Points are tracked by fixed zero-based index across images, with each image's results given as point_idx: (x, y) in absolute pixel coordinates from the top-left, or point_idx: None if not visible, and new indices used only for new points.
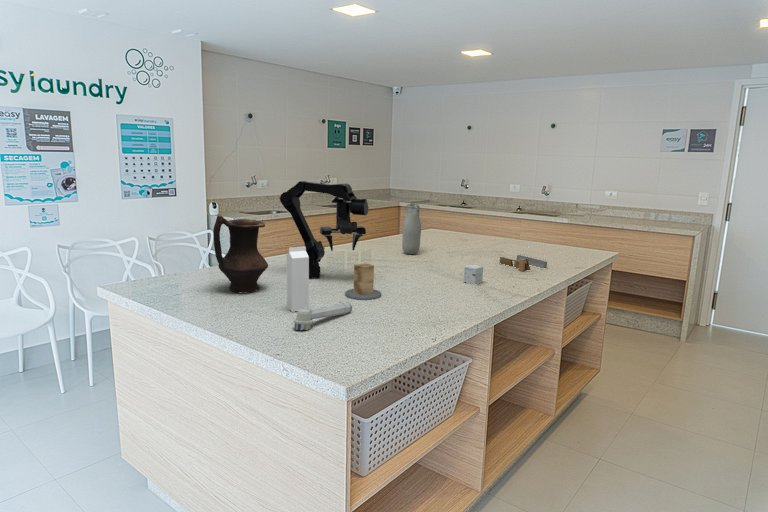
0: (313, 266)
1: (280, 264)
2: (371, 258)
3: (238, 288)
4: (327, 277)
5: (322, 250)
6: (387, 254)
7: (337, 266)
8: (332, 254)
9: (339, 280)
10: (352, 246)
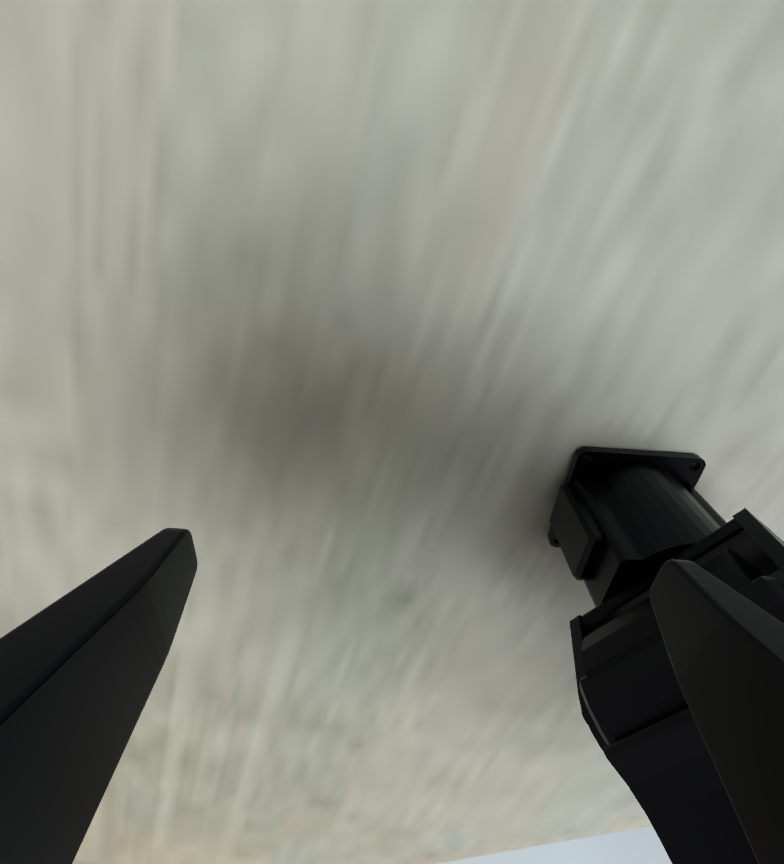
0: (686, 526)
1: None
2: None
3: None
4: (500, 462)
5: (650, 714)
6: None
7: (331, 680)
8: (300, 832)
9: (438, 343)
10: (162, 641)
